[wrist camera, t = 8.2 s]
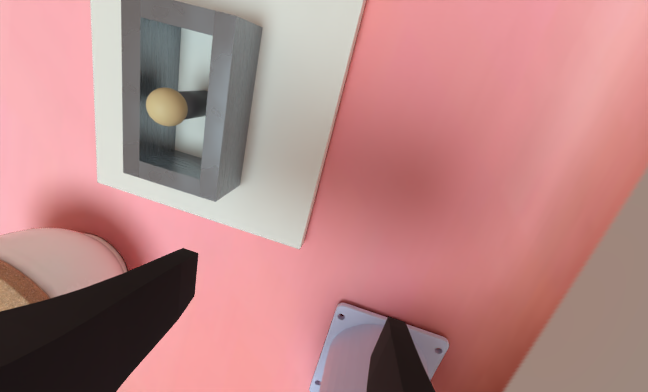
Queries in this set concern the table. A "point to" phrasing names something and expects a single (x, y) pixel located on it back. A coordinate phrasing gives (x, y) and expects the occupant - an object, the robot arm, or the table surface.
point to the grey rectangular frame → (163, 72)
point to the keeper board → (265, 118)
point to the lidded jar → (52, 264)
